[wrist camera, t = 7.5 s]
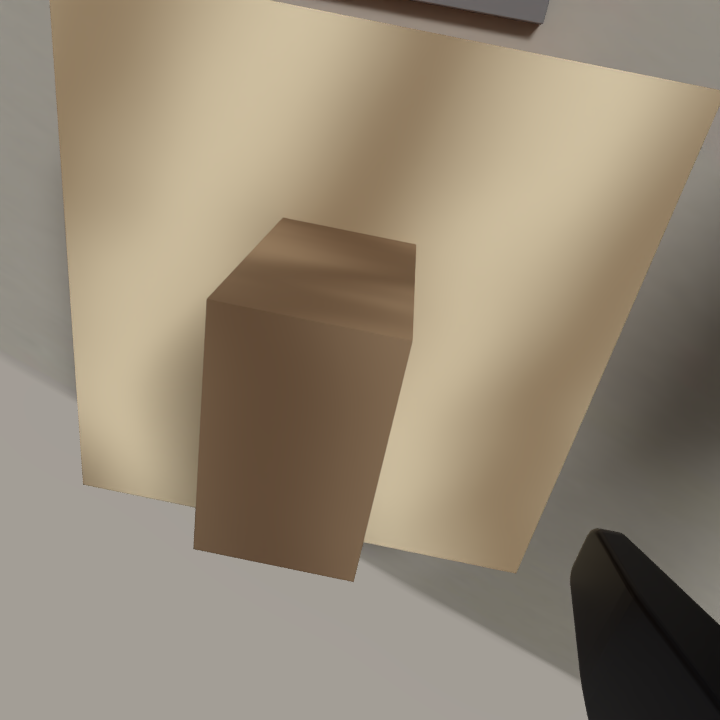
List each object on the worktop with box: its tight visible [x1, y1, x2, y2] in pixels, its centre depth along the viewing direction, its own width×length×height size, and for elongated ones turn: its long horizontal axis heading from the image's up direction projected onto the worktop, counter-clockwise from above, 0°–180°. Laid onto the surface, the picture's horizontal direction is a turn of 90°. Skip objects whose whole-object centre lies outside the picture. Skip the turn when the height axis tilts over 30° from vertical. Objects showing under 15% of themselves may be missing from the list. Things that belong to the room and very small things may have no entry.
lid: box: [50, 0, 720, 582], centre depth 12 cm, size 13×13×6 cm
